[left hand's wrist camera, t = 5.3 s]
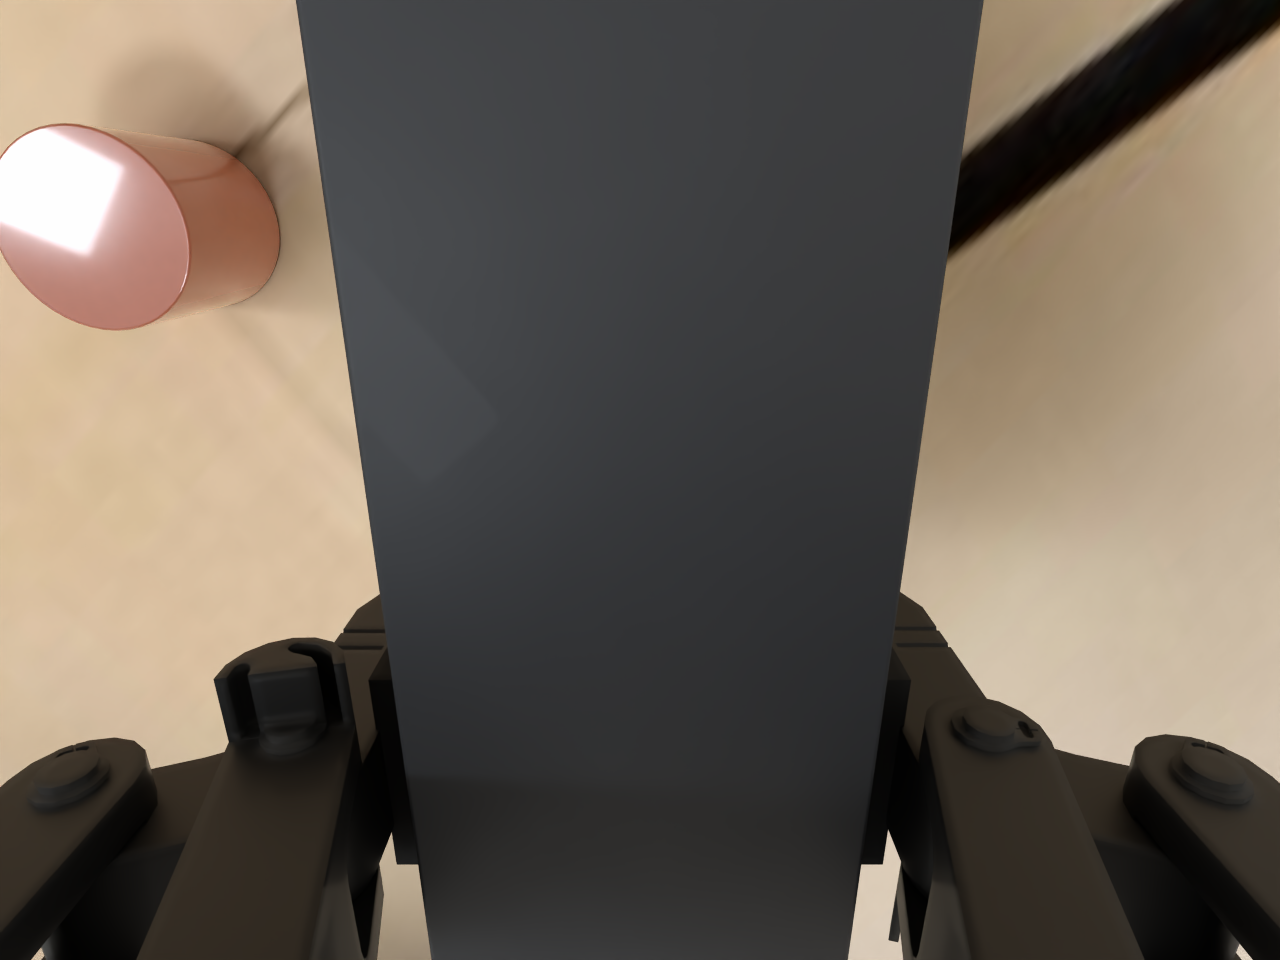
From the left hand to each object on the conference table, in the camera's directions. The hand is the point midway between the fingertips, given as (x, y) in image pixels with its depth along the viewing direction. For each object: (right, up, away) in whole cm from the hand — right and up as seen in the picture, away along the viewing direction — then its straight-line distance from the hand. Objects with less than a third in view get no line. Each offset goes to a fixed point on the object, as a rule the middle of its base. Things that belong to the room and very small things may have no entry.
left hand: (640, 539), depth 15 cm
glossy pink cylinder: (-14, +9, +9) cm, 19 cm away
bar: (0, +8, -3) cm, 8 cm away
